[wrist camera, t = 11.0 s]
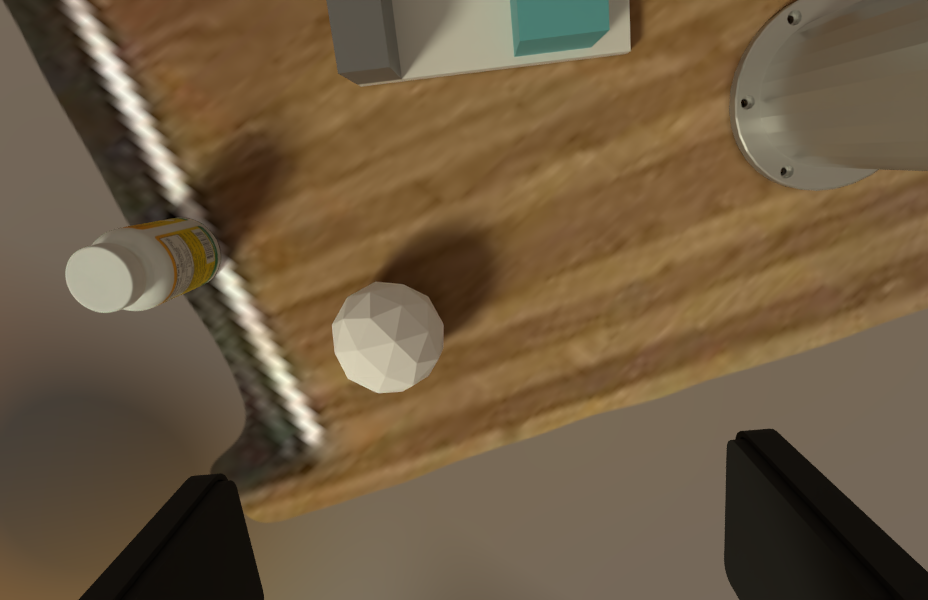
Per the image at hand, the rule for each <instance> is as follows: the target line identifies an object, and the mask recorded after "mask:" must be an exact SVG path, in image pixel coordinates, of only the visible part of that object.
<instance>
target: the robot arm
mask: <svg viewBox="0 0 928 600" xmlns="http://www.w3.org/2000/svg"><path fill="white" fill-rule="evenodd" d="M787 18H789V19H790V23H788V20H787ZM742 100H743V101H744V103H745V104H744V106H743V107H742V106H741V101H742ZM729 113H730V121H731V128H732V131H733V134H734V137H735V140H736V143H737V145H738V147H739V149H740V151H741V152H742V154H743V156H744V157H745V159H746V160H747V161H748V162H749V163H750V164H751V166H752V167H753V168H754V169H755V170H756V171H757V172H759V173H760V174H762V175H763V176H765V177H766V178H767V179H769V180H771V181H773V182H775V183H778V184H780V185H783V186H785V187H790V188H796V189H801V190H816V191H819V190H828V189H836V188H840V187H843V186H847V185H850V184H853V183H856V182H858V181H860V180H862V179H864V178H866V177H868V176H870V175H872V174H873V173H875V172H876V171H877V170H879V169H883V170H911V171H928V0H797V1H796V2H794V3H792V4H790V5H788V6H786V7H785V8H783V9H782V10H781V11H780V12H778V13H777V14H776V15H775V16H773V17H772V18H771V19H770V20H768V21H767V23H766V24H765V25H764V26H763V27H762V28H761V29H760V30H759V31H758V33H757V34H756V35H755V36H754V37H753V39H752V40H751V42H750V44H749V45H748V47H747V48H746V50H745V51H744V53H743V55H742V57H741V59H740V62H739V64H738V66H737V69H736V71H735V74H734V78H733V82H732V86H731V91H730V105H729ZM781 169H783V173H782V174H781V173H780V172H781ZM726 460H727V461H726V506H725V551H724V562H725V563H724V564H725V570H726V574H727V577H728V580H729V582H730V584H731V586H732V587H733V589H734V591H735V593H736V595H737V596H738V598H739V600H928V572H927V571H926V570H925V569H924V568H923V567H922V566H921V565H920V564H919V563H917V562H916V561H915V560H914V559H913V558H912V557H911V556H910V555H909V554H908V553H907V552H906V551H905V550H903V549H902V548H901V547H900V546H899V545H898V544H897V543H896V542H895V541H894V540H892V538H891V537H889V536H888V535H887V534H886V533H885V532H884V531H883V530H882V529H881V528H880V527H879V526H878V525H877V524H875V522H873V521H872V520H871V519H870V518H869V517H868V516H867V515H866V514H865V513H864V512H863V511H862V510H860V509H859V508H858V507H857V506H856V505H855V504H854V503H853V502H852V501H851V500H850V499H849V498H848V497H847V496H845V495H844V494H843V493H842V492H841V491H840V490H839V489H838V488H837V487H836V486H835V485H833V483H832V482H831V481H829V480H828V479H827V478H826V477H825V476H824V475H823V474H822V473H821V472H820V471H819V470H818V469H817V468H816V467H814V466H813V465H812V464H811V463H810V462H809V461H808V460H807V459H806V458H805V457H804V456H803V455H802V454H800V453H799V452H798V451H797V450H796V449H795V448H794V447H793V446H792V445H791V444H790V443H788V441H787V440H785V439H784V438H783V437H782V436H781V435H780V434H779V433H778V432H777V431H775V430H774V429H762V430H749V431H740V432H738V433H737V435H736V439H735V440H730V441H728V444H727V458H726ZM79 600H264V594H263V589H262V585H261V581H260V577H259V573H258V569H257V565H256V561H255V558H254V553H253V549H252V546H251V542H250V538H249V534H248V530H247V526H246V523H245V518H244V514H243V510H242V506H241V502H240V498H239V494H238V490H237V487H236V484H235V483H234V482H233V481H231V480H230V481H228V479H227V478H226V476H225V475H223V474H210V475H198V476H191V477H190V478H188V479H187V480H186V481H185V482H184V483H183V485H182V486H181V487H180V488H179V489H178V490H177V491H176V493H174V495H173V496H172V497H171V498H170V499H169V500H168V501H167V502H166V503H165V505H164V506H163V507H162V508H161V509H160V510H159V511H158V512H157V513H156V515H155V516H154V517H153V518H152V519H151V520H150V521H149V522H148V523H147V524H146V526H145V527H144V528H143V529H142V530H141V531H140V532H139V533H138V534H137V536H136V537H135V538H134V539H133V540H132V541H131V542H130V543H129V545H128V546H127V547H126V548H125V549H124V550H123V551H122V552H121V553H120V555H119V556H118V557H117V558H116V559H115V560H114V561H113V562H112V563H111V564H110V565H109V567H108V568H107V569H106V570H105V571H104V572H103V573H102V574H101V576H100V577H99V578H98V579H97V580H96V581H95V582H94V583H93V584H92V585H91V587H90V588H89V589H88V590H87V591H86V592H85V593H84V594H83V595H82V596H81V598H80V599H79Z"/></svg>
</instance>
